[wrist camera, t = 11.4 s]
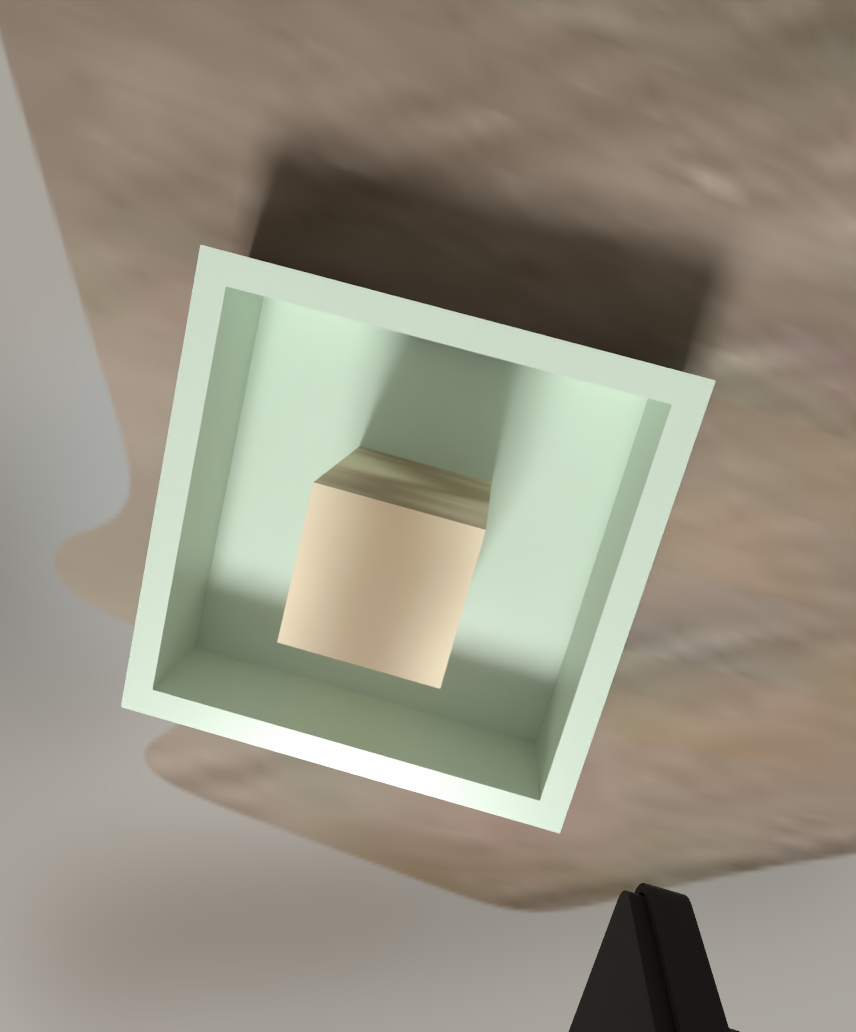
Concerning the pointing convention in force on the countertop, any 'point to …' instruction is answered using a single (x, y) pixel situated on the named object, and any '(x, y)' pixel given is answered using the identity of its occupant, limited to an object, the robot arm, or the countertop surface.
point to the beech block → (386, 564)
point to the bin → (428, 440)
